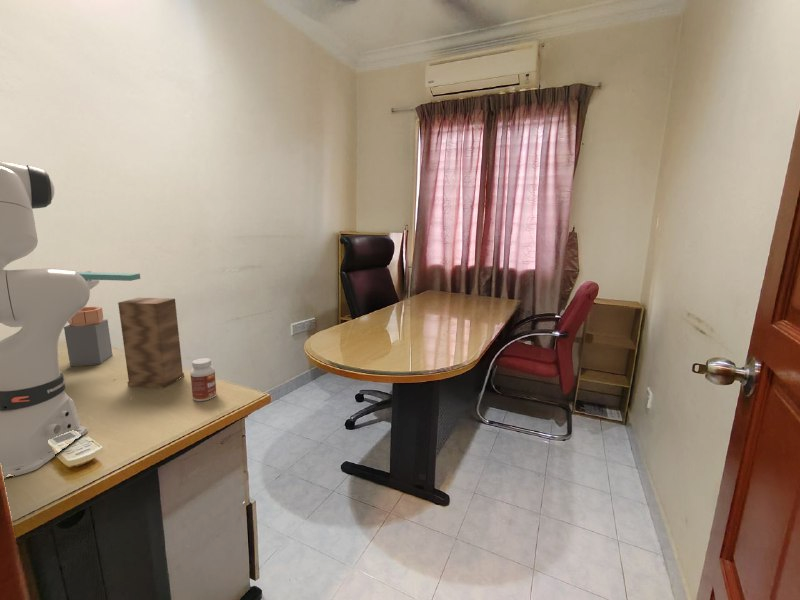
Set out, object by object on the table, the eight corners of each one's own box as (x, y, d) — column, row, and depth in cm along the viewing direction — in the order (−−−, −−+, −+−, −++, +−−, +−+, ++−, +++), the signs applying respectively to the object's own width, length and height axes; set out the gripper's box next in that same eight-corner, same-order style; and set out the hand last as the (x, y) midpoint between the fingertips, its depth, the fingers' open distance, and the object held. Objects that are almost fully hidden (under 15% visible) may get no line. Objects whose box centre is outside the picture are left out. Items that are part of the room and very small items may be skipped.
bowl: (95, 325, 128) (93, 311, 127) (63, 327, 126) (61, 312, 125) (107, 319, 137) (105, 306, 136) (78, 320, 134) (76, 307, 133)
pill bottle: (212, 401, 105) (209, 364, 103) (189, 402, 104) (185, 365, 102) (219, 391, 111) (216, 356, 109) (197, 392, 110) (194, 357, 108)
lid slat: (65, 279, 112) (65, 273, 112) (77, 277, 116) (76, 271, 115) (130, 280, 111) (130, 275, 111) (140, 278, 115) (139, 273, 115)
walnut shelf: (127, 385, 114) (116, 302, 109) (149, 374, 123) (139, 297, 118) (165, 387, 113) (155, 304, 108) (184, 375, 122) (176, 298, 117)
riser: (100, 364, 131) (95, 325, 128) (70, 366, 129) (63, 327, 126) (112, 355, 140) (107, 319, 137) (84, 357, 137) (78, 320, 134)
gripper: (6, 292, 105) (43, 269, 103) (71, 281, 125) (103, 261, 123) (21, 312, 106) (58, 289, 104) (83, 297, 126) (115, 278, 124)
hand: (83, 274), depth 113 cm, fingers closed on lid slat, 4 cm apart
